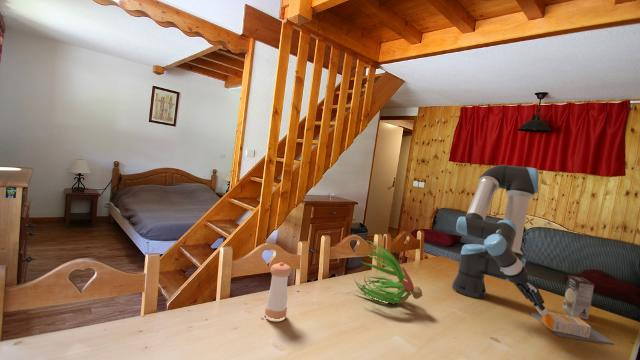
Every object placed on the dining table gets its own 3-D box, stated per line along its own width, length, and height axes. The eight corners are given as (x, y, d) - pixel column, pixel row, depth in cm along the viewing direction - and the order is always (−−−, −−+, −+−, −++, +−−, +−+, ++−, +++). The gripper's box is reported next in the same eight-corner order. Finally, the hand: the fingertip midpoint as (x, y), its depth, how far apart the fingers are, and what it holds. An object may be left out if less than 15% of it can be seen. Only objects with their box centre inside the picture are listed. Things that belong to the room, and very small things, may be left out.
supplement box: (542, 309, 133) (579, 316, 130) (540, 321, 133) (577, 328, 131) (552, 318, 125) (591, 326, 122) (550, 330, 125) (589, 338, 123)
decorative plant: (415, 335, 121) (339, 310, 131) (421, 298, 144) (355, 279, 154) (427, 273, 114) (346, 252, 124) (431, 245, 137) (362, 229, 147)
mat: (558, 336, 123) (558, 334, 123) (530, 313, 141) (530, 312, 141) (613, 344, 122) (613, 342, 122) (578, 320, 140) (578, 319, 140)
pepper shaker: (289, 316, 113) (296, 262, 112) (278, 324, 106) (285, 267, 105) (272, 309, 116) (278, 257, 115) (260, 317, 109) (266, 262, 108)
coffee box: (561, 307, 152) (567, 274, 151) (576, 310, 151) (583, 277, 150) (572, 316, 144) (578, 281, 142) (589, 319, 142) (595, 284, 141)
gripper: (495, 269, 133) (525, 312, 136) (517, 281, 120) (551, 328, 123) (509, 258, 133) (539, 300, 136) (533, 269, 121) (566, 316, 123)
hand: (544, 313), depth 130 cm, fingers closed
